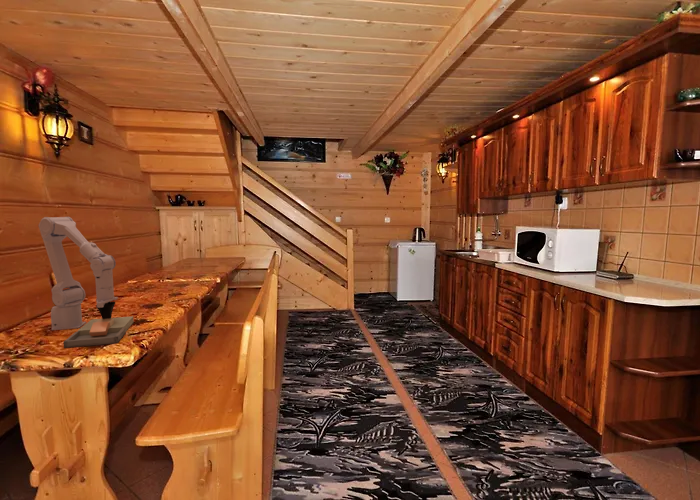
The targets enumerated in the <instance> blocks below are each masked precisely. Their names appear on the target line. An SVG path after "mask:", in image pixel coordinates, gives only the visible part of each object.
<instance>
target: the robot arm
mask: <svg viewBox="0 0 700 500" xmlns="http://www.w3.org/2000/svg"><path fill="white" fill-rule="evenodd" d="M38 229H39V233H40V236H41V238H42V241H43V244H44V248H45V250H46V254H47V257H48V259H49V263H50V267H51V270H52V273H53V276H54V279H55V281H56V283H55V284H54V285H53V287H52V288H51V294H52V295H51V300H52V303H53V304H54V306H52V307H51V310H50V321H51V330H50V331H58V330H70V329H71V330H72V329H80V328H81V327H83V326H84V325H85V324H86V323H87V321H83V316H82V314H83V313H82V304H83V301H84V300H85V298H86V290H85V289H84V288H83V287H82V284H81V282H79V281H78V280H75V279H74V278H73V274H72V271H71V269H70V264H69V262H68V259H67V255H66V252H65V250H64V247H63V241H64V239H66V238H68V239H70V240H71V241H72V242H73V243H74V244H75V245H76V246H77V247H79V253H80V254H81V256H83V257H84V258H85V259H86V260H87V261H88V262H89V263H90V264H89V266H90V269H91V271H92V273H93V276H94V278H95V279H94V280H95V294H96V296H95V297H96V299H95V302H96V305H95V308H96V309H97V311H99V314H100V316H101V319H110V318H112V315H113V310H114V307H115V306H116V300H118V298H119V297H118V296H115V292H114V291H115V289H114V277H113V274H114V271H113V270H114V269H116V268H115V267H116V260H115V258H114V256H113V255H110V254H107V253H105V252H104V251H102V250H101V248H99V247H98V246H97V244H96V243H95V242H91V241H90V242H89V241H88V239H86V238H85V236H84V235H83V234H82V233H81V231H80V230H79V229H78V228H77V222H75V221H74V220H73V218H72V217H70V216H59V217H57V216H55V217H54V216H53V217H51V216H50V217H48V216H44V217H42V218H41V220H40V221H39V223H38Z"/></svg>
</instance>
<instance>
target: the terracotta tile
mask: <svg viewBox="0 0 700 500" xmlns="http://www.w3.org/2000/svg"><path fill="white" fill-rule="evenodd" d="M109 326H110V324H109V322H96V323H93V325H92V327H91V330H90V332H89V333H90V336H102V335H107V332H108V329H109Z"/></svg>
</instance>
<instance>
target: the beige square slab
mask: <svg viewBox="0 0 700 500" xmlns="http://www.w3.org/2000/svg"><path fill="white" fill-rule="evenodd" d="M113 318H114V324H113V325H112V326H111V327H109V329H108V332H107V333H117V332H119V331H120V330H121V329H122V328H125V329H126V332H127V331H128V330H129V328H130V327H131V326H132V325H133V324H134V322H135V321H134V316H133V315H132V316H122V317H121V316H120V317H118V316H117V317H113ZM99 319H100V318H93V319H90V320H89V321H87V322H86V323H85V324H84V325H83V326H81V327H80V328H78V330H77V331H76V332H79V336H81V335H90V333H89V332H90V330H91V327H92V325H93V323H95V322H96V321H97V320H99Z"/></svg>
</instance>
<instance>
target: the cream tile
mask: <svg viewBox="0 0 700 500" xmlns="http://www.w3.org/2000/svg"><path fill="white" fill-rule="evenodd" d="M114 318H115V317H111V318H110V319H102V318H98V319H99V320H97V321H96V322H109V324H110V326H109V327H111V326H112V325H113V324H114ZM96 322H95V323H96Z"/></svg>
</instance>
